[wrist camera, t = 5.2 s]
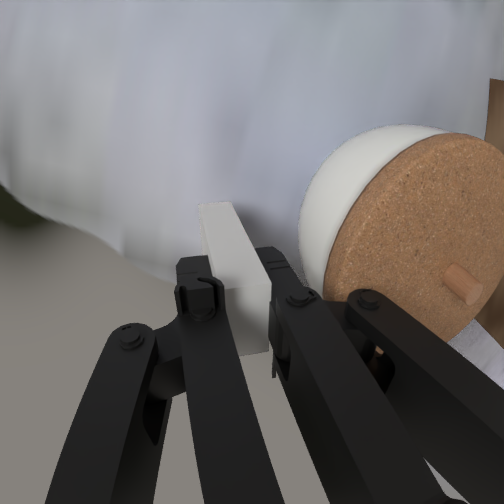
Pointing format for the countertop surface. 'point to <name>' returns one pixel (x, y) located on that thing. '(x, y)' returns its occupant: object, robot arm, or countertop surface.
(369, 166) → the lidded jar
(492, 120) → the board
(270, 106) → the countertop surface
